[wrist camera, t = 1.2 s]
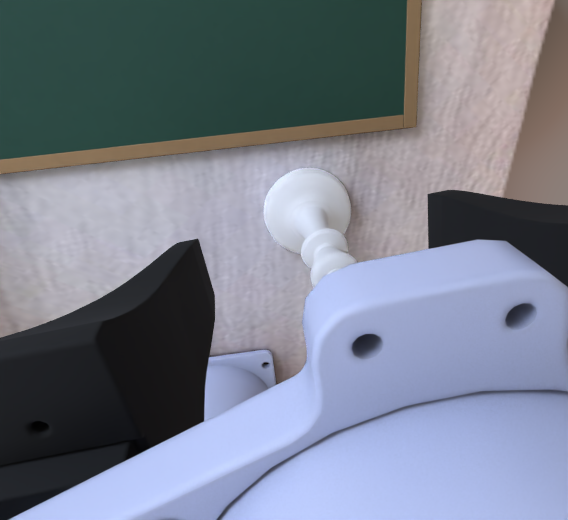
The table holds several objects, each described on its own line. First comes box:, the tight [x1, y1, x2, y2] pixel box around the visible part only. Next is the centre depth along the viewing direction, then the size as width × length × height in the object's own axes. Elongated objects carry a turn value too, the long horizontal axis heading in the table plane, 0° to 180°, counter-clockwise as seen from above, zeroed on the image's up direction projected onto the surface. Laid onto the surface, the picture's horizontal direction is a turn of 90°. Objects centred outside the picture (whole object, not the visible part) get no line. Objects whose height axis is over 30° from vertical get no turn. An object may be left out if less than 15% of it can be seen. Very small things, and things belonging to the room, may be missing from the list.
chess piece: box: [263, 168, 358, 287], centre depth 19 cm, size 5×5×10 cm
